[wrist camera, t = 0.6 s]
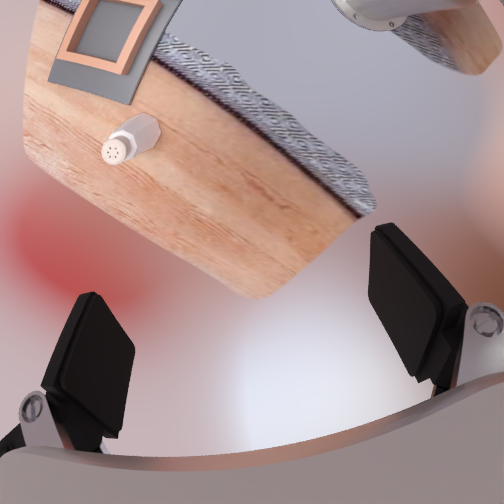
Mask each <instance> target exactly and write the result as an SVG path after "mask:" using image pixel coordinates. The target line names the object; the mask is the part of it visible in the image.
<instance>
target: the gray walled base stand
mask: <svg viewBox="0 0 504 504" xmlns="http://www.w3.org/2000/svg"><path fill="white" fill-rule="evenodd" d="M182 1H183V0H81V2H80V4H79V6H78V8H77V10H76V12H75V14H74V16H73V18H72V20H71V22H70V24H69V26H68V28H67V31H66V33H65V35H64V38H63V40H62V42H61V45H60V47H59V50H58V53H57V55H56V58H55V61H54V63H53V66H52V69H51V72H50V75H49V78H48V81H47V82H51V83H55V84H59V85H63V86H67V87H71V88H74V89H78V90H81V91H85V92H88V93H91V94H95V95H98V96H101V97H105V98H108V99H111V100H114V101H117V102H120V103H123V104H126V105H130V104H131V102H132V100H133V97H134V95H135V92H136V90H137V88H138V85H139V83H140V81H141V78H142V76H143V74H144V72H145V69H146V67H147V65H148V63H149V61H150V59H151V57H152V55H153V53H154V51H155V49H156V47H157V45H158V43H159V41H160V39H161V37H162V35H163V33H164V32H165V30H166V28H167V26H168V24H169V23H170V21H171V19H172V17H173V16H174V14H175V12H176V11H177V9H178V7H179V6H180V4H181V2H182Z"/></svg>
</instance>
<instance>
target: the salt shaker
mask: <svg viewBox="0 0 504 504" xmlns="http://www.w3.org/2000/svg"><path fill="white" fill-rule="evenodd" d="M160 135H161V131H160V128H159V124H158V121H157V119H156V118H154V117H152V116H150V115H148V114H146V113H144V112H143V113H141V114H138V115H135V116H133V117H130V118H129V119H127V120H126V121H125V122H124V123H123V124H122V125H121V126H119V127H118V128H117V129H116V130H115V131H114V132H113V133H112V134H111V136H110V138H109V140H107V141H106V142H105V143H104V144H103V147H102V151H101V153H102V157H103V159H104V160H105V162H107V163H108V164H110V165H118V164H120V163H121V162H124V161H126V160H129V159H132V158H134V157H136V156H138V155H140V154H141V153H143V152H145V151H147V150H149V149H151V148H152V147H154V146H155V144H156V142H157V140H158V138H159V137H160Z"/></svg>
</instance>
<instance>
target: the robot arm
mask: <svg viewBox="0 0 504 504" xmlns="http://www.w3.org/2000/svg"><path fill="white" fill-rule="evenodd" d="M331 1H332V3H333V4H334V5H335V7H336V8H337V9H338V11H340V13H341V14H342V15H344V16H345V17H346V18H347V19H349V20H350V21H351V22H353V23H355V24H357V25H358V26H360V27H363V28H365V29H368V30H373V31H389V30H393V29H396V28H398V27H399V26H401V25H402V24H403V23H404V22H405V21H406V19H407V17H408V16H409V15H415V14H420V13H427V12H433V11H441V10H450V9H458V8H467V7H471V6H473V5H476V4H477V3H478V2H480V1H481V0H331ZM500 2H502V4H503V6H504V0H500ZM353 16H354V17H355V19H354V18H353ZM368 297H369V300H370V303H371V305H372V306H373V308H374V310H375V312H376V314H377V315H378V317H379V319H380V321H381V322H382V324H383V326H384V328H385V330H386V331H387V333H388V335H389V337H390V339H391V341H392V342H393V344H394V346H395V348H396V350H397V352H398V354H399V356H400V358H401V359H402V361H403V363H404V365H405V367H406V369H407V371H408V373H409V375H410V376H412V377H413V376H415V378H416V379H417V382H418V383H420V382H422V381H424V380H426V379H429V378H430V379H431V381H432V383H433V384H434V387H433V391H432V394H431V398H430V399H428V400H426V401H424V402H421V403H419V404H417V405H414V406H412V407H410V408H407V409H405V410H402V411H400V412H397V413H395V414H392V415H389V416H386V417H384V418H381V419H378V420H375V421H373V422H370V423H367V424H364V425H361V426H358V427H355V428H352V429H349V430H345V431H341V432H338V433H334V434H331V435H327V436H323V437H320V438H316V439H312V440H307V441H303V442H298V443H294V444H289V445H284V446H279V447H273V448H267V449H261V450H254V451H248V452H240V453H231V454H221V455H208V456H189V457H140V456H122V455H111V454H110V453H109V452H108V450H107V448H106V446H105V445H104V443H103V441H102V437H103V436H104V437H105V438H114V439H115V438H116V439H118V434H119V431H120V430H121V429H122V425H123V418H124V411H125V405H126V398H127V393H128V387H129V382H130V376H131V371H132V365H133V360H134V356H135V347H134V344H133V342H132V341H131V340H130V338H129V337H128V336H127V334H126V333H125V331H124V330H123V328H122V327H121V326H120V324H119V323H118V321H117V320H116V318H115V317H114V315H113V314H112V312H111V310H110V309H109V307H108V306H107V304H106V303H105V301H104V300H103V298H102V297H101V296H100V295H98V294H97V293H95V292H89V293H84V294H81V295H79V297H78V298H77V300H76V303H75V305H74V307H73V309H72V311H71V313H70V315H69V317H68V319H67V322H66V324H65V326H64V328H63V330H62V333H61V335H60V337H59V340H58V342H57V345H56V347H55V349H54V352H53V354H52V357H51V359H50V362H49V364H48V367H47V369H46V372H45V375H44V378H43V381H42V383H41V387H42V388H43V389H45V390H46V391H47V392H46V395H44V394H43V393H42V392H40V391H33V392H31V393H29V394H28V395H27V396H26V397H25V398H24V400H23V401H22V403H21V405H20V408H19V420H20V423H19V424H18V425H17V426H16V427H15V428H14V429H13V430H12V431H11V432H10V433H9V434H7V435H6V436H5V437H4V438H3V439H2V440H1V441H0V504H504V313H503V312H502V311H501V310H500V309H499V308H498V307H496V306H495V305H493V304H490V303H486V302H479V303H475V304H473V305H472V306H470V307H468V306H467V304H466V303H465V300H464V299H463V298H462V297H461V295H460V294H459V293H458V292H457V291H456V289H455V288H454V287H453V286H452V285H451V284H450V282H449V281H448V280H447V279H446V278H445V277H444V276H443V274H442V273H441V272H440V271H439V270H438V269H437V268H436V267H435V266H434V264H433V263H432V262H431V261H430V260H429V259H428V258H427V257H426V256H425V255H424V254H423V253H422V251H421V250H420V249H419V248H418V247H417V246H416V245H415V244H414V243H413V242H412V241H411V240H410V239H409V238H408V237H407V236H406V235H405V234H404V233H403V232H402V231H401V230H400V229H399V228H398V227H397V226H396V225H395V224H394V223H387V224H382V225H378V226H376V227H375V231H373V232H371V240H370V268H369V285H368Z"/></svg>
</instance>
